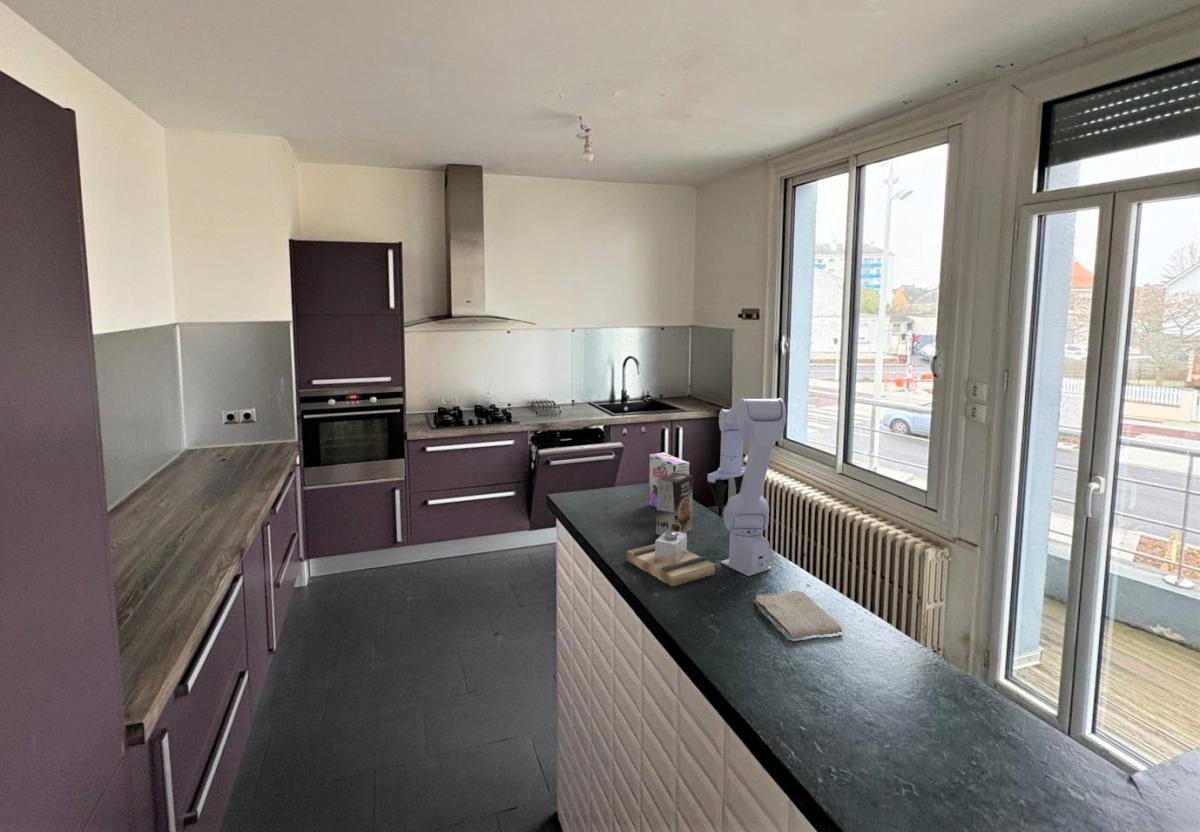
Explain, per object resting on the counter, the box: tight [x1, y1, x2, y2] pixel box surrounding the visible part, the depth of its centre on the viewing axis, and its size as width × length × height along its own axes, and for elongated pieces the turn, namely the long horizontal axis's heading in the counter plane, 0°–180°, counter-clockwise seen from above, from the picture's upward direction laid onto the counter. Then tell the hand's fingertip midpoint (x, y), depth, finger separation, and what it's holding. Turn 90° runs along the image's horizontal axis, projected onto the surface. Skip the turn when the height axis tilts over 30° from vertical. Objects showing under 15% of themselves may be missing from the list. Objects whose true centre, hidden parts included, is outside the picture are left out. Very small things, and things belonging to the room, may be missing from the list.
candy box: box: [648, 451, 691, 510], centre depth 210 cm, size 14×6×16 cm, turn 28°
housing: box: [654, 530, 688, 564], centre depth 168 cm, size 8×5×6 cm, turn 154°
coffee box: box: [655, 472, 694, 536], centre depth 190 cm, size 9×6×16 cm
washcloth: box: [753, 590, 843, 639], centre depth 143 cm, size 12×18×3 cm, turn 13°
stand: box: [626, 543, 716, 587], centre depth 168 cm, size 18×13×3 cm
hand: (729, 504), depth 184 cm, fingers open, 7 cm apart
